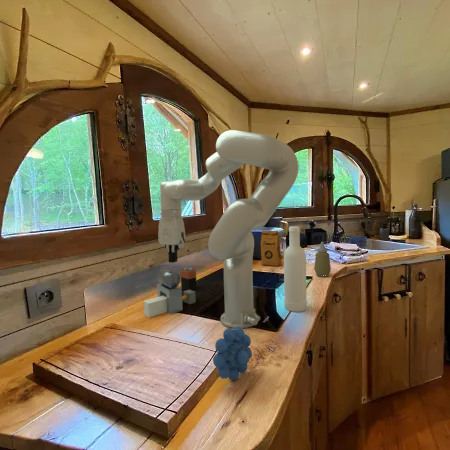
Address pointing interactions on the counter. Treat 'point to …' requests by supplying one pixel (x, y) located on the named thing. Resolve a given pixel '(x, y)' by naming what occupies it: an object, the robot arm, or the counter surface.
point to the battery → (188, 279)
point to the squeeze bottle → (322, 262)
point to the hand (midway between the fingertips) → (173, 261)
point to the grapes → (232, 353)
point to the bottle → (295, 273)
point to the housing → (170, 290)
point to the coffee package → (270, 248)
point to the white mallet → (165, 303)
